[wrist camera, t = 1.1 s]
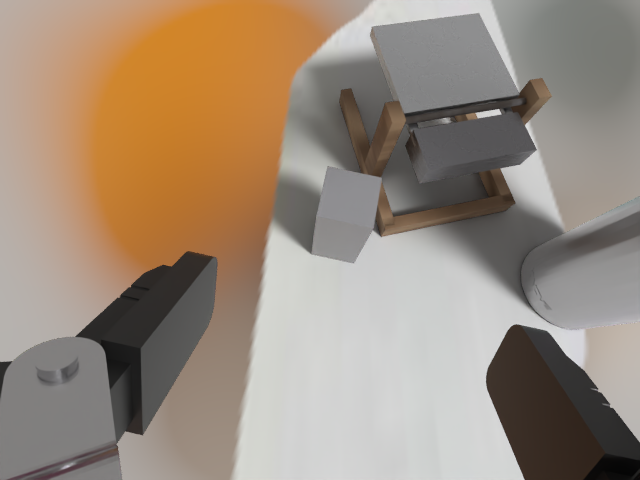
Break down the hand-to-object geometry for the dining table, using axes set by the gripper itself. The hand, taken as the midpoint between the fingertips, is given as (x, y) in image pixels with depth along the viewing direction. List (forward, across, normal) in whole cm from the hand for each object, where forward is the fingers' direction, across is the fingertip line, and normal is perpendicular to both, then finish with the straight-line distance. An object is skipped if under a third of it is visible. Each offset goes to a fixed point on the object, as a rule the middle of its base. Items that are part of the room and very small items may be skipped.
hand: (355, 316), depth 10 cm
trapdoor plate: (+30, -7, -5) cm, 31 cm away
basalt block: (+26, 0, +10) cm, 28 cm away
